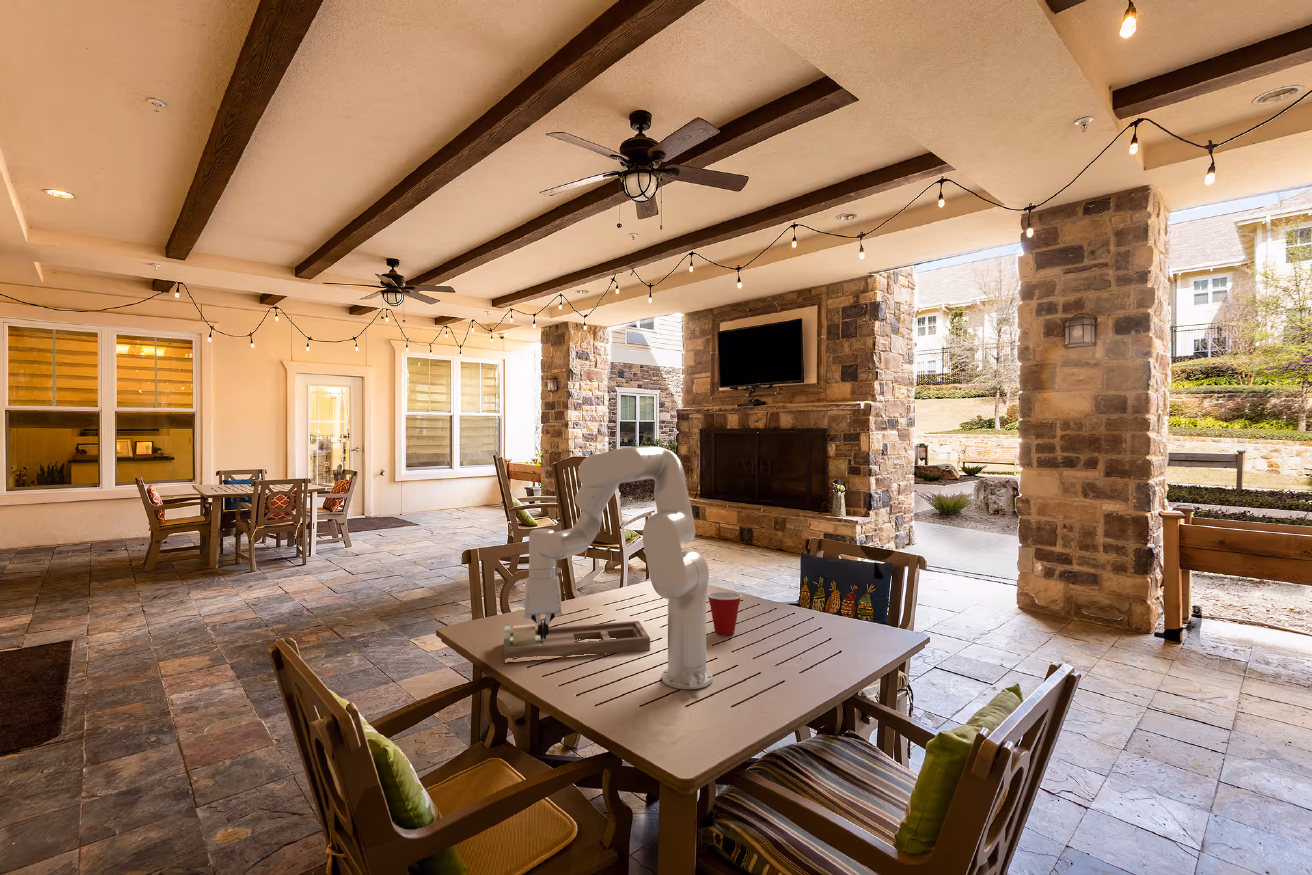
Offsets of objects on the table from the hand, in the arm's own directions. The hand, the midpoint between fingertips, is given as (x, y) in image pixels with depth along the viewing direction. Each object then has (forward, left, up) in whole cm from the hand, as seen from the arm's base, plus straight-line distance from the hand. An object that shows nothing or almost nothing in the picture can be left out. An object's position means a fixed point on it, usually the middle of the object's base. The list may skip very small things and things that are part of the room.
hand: (543, 637), depth 168 cm
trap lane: (0, -9, -4) cm, 10 cm away
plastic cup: (+1, -55, -4) cm, 55 cm away
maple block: (0, +5, -1) cm, 5 cm away
